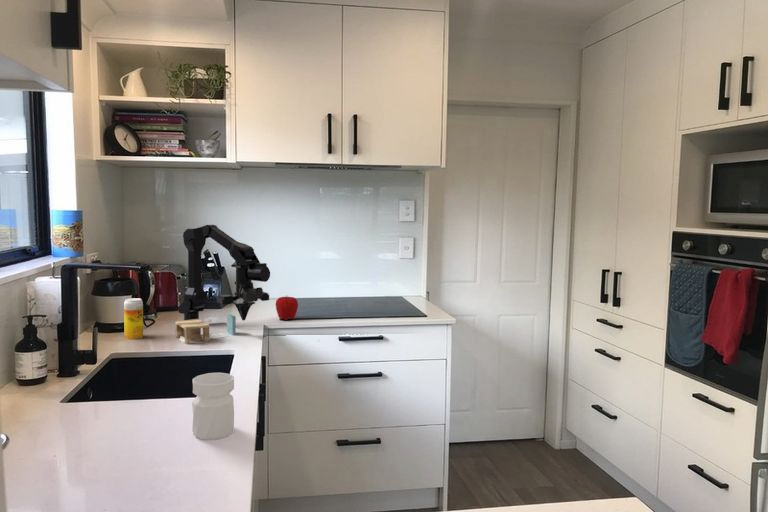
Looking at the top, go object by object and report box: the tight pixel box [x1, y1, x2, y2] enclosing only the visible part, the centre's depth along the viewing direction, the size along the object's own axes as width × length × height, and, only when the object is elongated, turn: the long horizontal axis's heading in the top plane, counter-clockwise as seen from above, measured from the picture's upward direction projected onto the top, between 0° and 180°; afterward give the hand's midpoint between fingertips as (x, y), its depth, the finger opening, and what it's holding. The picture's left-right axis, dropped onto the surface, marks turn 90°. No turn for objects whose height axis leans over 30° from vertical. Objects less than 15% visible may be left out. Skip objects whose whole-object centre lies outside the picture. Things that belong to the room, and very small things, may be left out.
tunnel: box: [174, 318, 210, 345], centre depth 191 cm, size 12×8×7 cm
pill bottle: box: [191, 372, 235, 441], centre depth 117 cm, size 9×9×12 cm
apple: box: [275, 295, 299, 321], centre depth 233 cm, size 10×10×11 cm
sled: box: [178, 313, 237, 343], centre depth 194 cm, size 6×19×8 cm, turn 129°
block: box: [184, 328, 202, 342], centre depth 191 cm, size 4×4×4 cm
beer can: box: [123, 297, 144, 340], centre depth 191 cm, size 6×6×15 cm
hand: (243, 320), depth 203 cm, fingers closed
